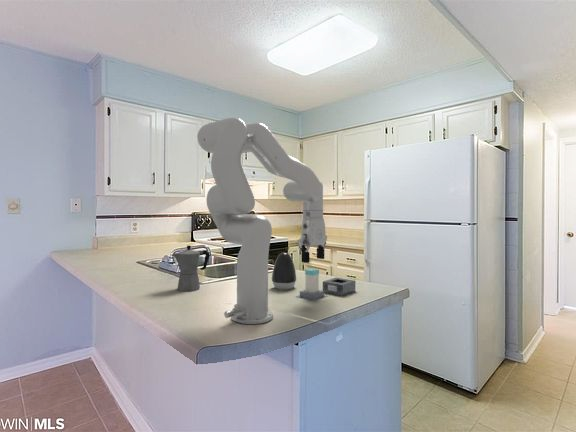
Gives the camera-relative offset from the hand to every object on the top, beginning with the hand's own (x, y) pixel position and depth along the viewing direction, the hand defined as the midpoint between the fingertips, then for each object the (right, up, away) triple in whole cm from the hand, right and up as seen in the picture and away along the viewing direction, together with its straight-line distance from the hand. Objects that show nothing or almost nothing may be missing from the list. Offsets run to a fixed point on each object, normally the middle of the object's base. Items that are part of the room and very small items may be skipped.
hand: (313, 260), depth 125 cm
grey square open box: (-1, -14, 0) cm, 14 cm away
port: (+11, -14, +7) cm, 19 cm away
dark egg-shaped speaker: (-11, -14, +14) cm, 22 cm away
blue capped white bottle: (-1, -13, 0) cm, 13 cm away
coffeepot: (-49, -14, +13) cm, 53 cm away
